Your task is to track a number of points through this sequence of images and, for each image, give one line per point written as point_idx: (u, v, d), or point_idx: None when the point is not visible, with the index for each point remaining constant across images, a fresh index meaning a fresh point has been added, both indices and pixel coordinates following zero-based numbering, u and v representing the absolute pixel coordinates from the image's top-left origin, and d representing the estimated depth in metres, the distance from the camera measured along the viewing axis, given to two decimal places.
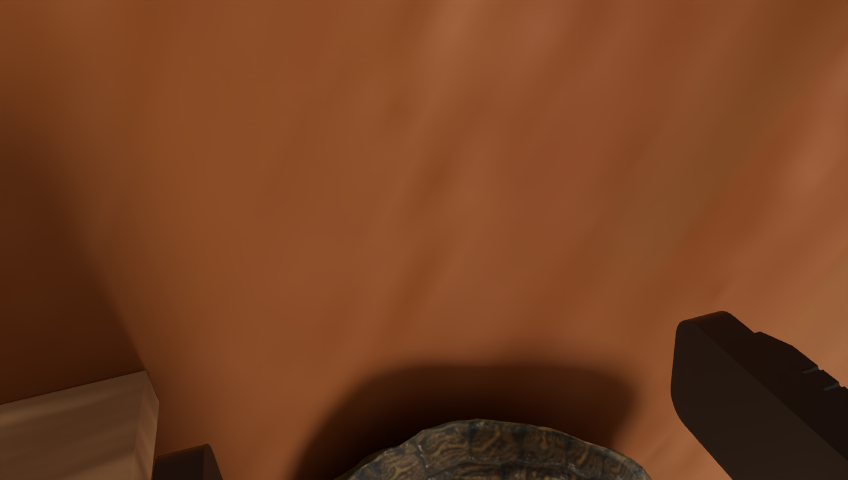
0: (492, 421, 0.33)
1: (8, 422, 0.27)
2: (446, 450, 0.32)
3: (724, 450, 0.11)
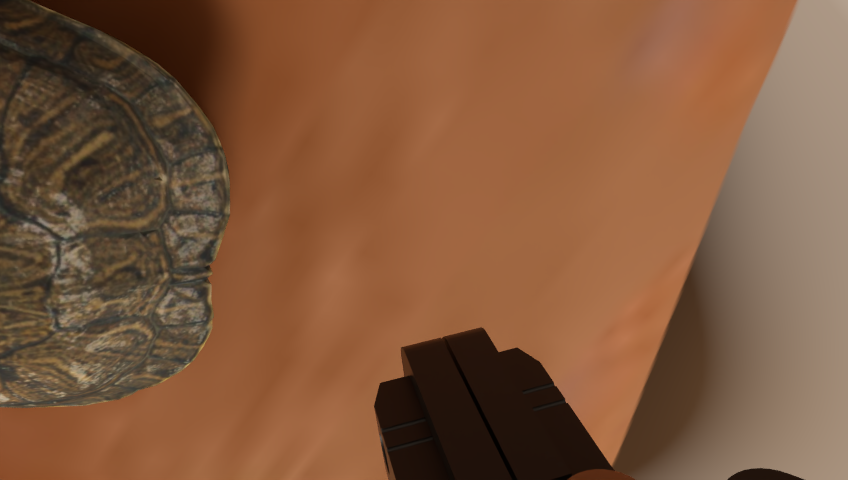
0: None
1: None
2: None
3: None
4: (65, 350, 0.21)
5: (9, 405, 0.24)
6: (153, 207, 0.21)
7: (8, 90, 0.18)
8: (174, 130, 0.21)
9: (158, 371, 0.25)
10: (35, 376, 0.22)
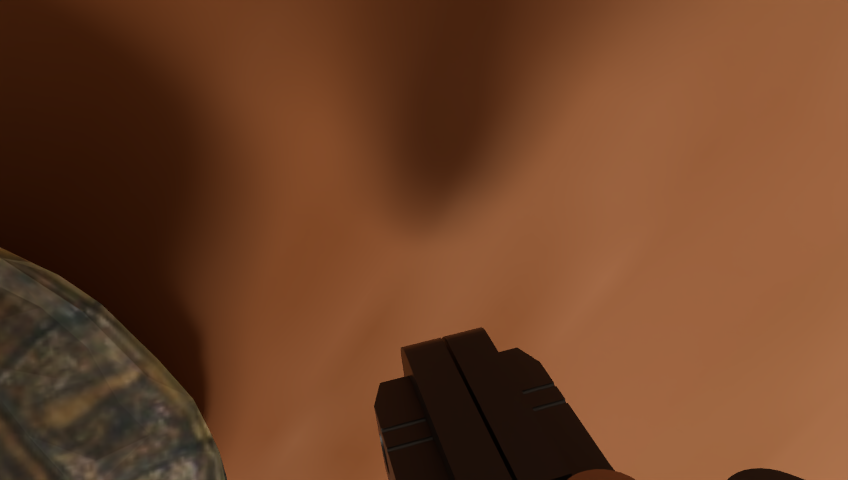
0: None
1: None
2: None
3: None
4: None
5: None
6: None
7: None
8: (100, 426, 0.09)
9: None
10: None
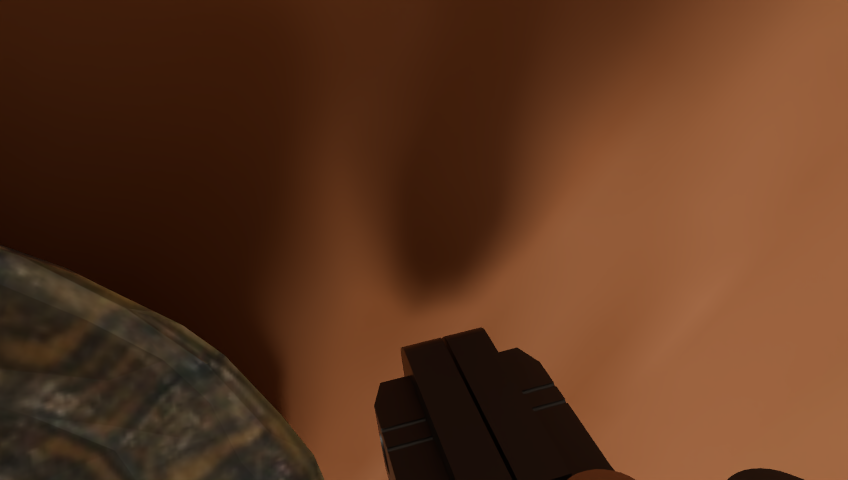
0: None
1: None
2: None
3: None
4: None
5: None
6: None
7: None
8: None
9: None
10: None
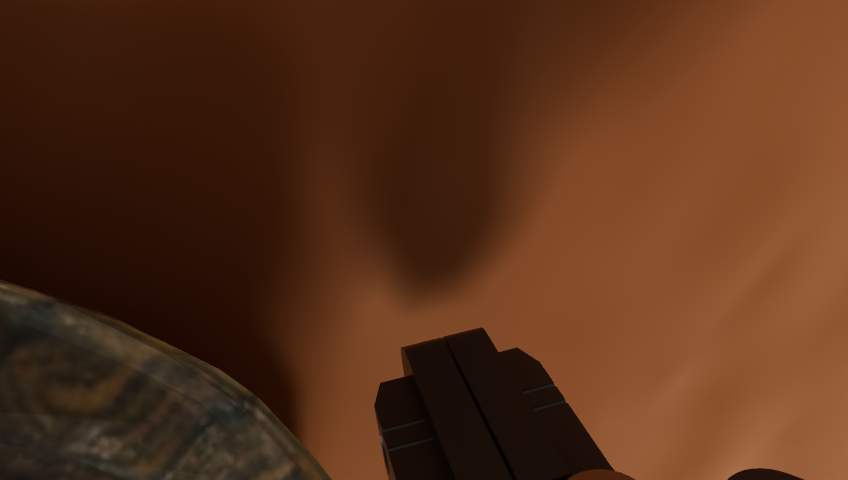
0: None
1: None
2: None
3: None
4: None
5: None
6: None
7: None
8: None
9: None
10: None
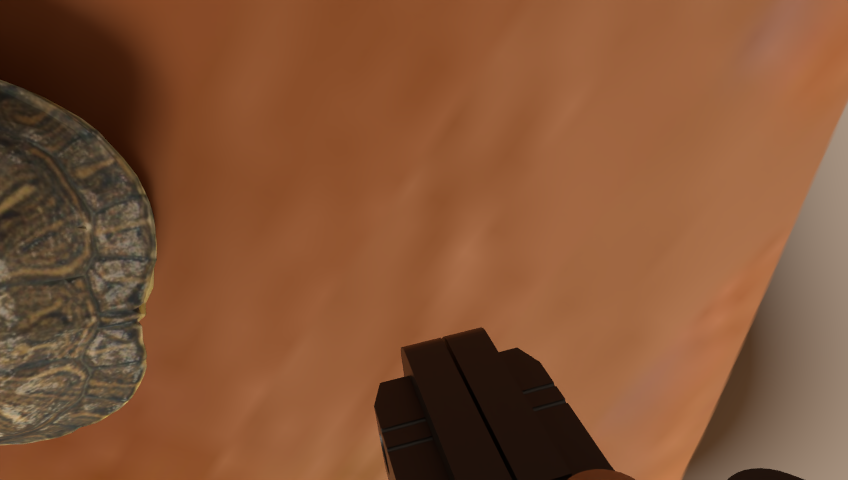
0: None
1: None
2: None
3: None
4: None
5: None
6: (78, 255, 0.22)
7: None
8: (97, 180, 0.22)
9: (96, 409, 0.26)
10: None
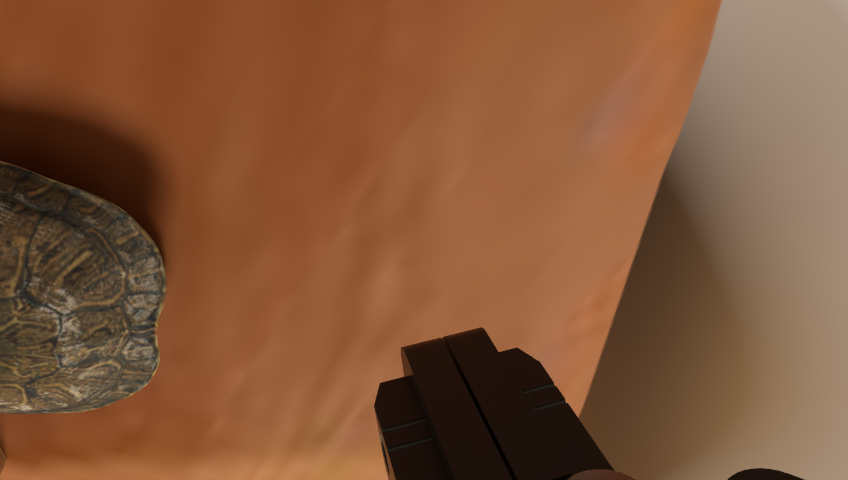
0: None
1: None
2: None
3: None
4: (66, 378, 0.35)
5: (32, 412, 0.38)
6: (117, 292, 0.35)
7: (30, 232, 0.32)
8: (129, 245, 0.35)
9: (126, 389, 0.39)
10: (48, 394, 0.36)
